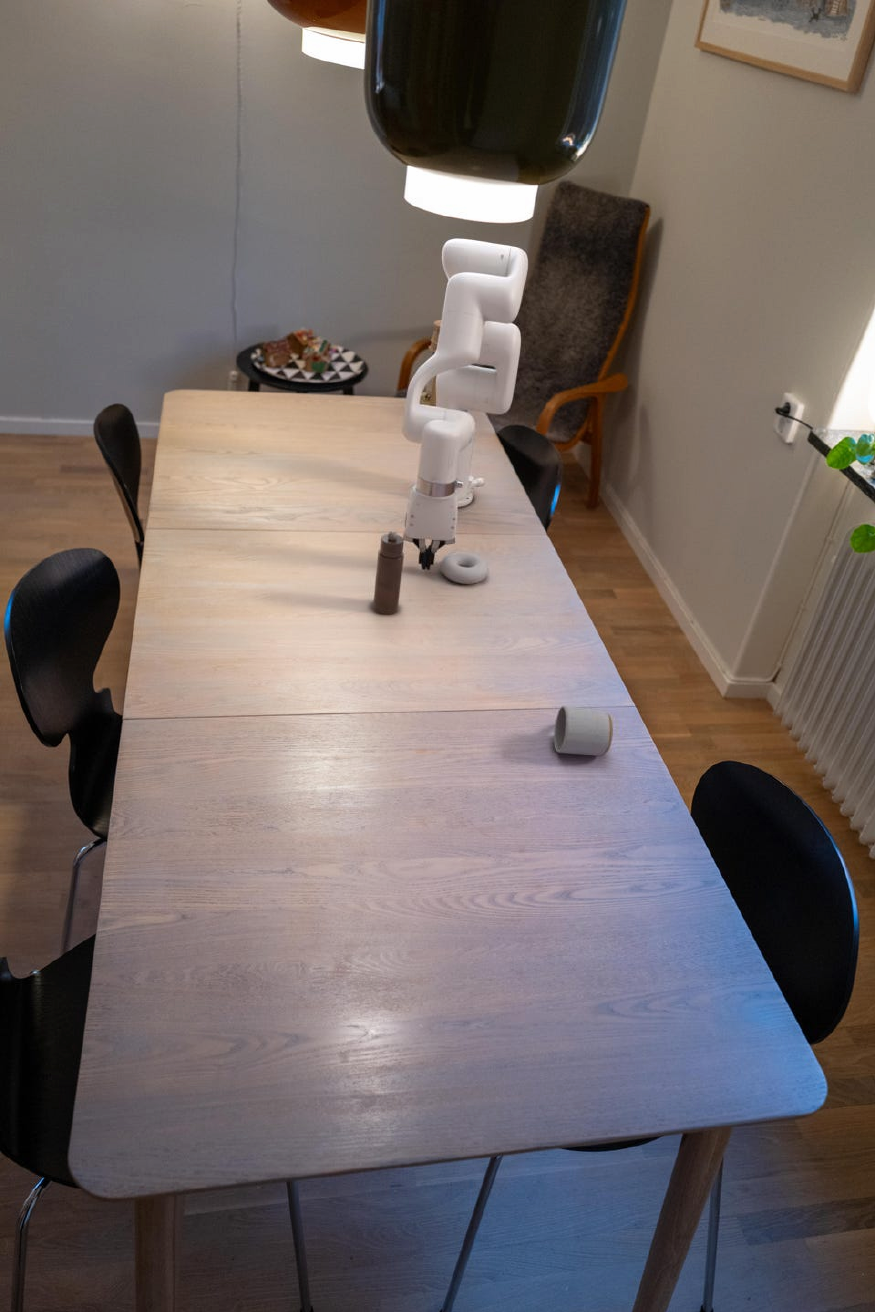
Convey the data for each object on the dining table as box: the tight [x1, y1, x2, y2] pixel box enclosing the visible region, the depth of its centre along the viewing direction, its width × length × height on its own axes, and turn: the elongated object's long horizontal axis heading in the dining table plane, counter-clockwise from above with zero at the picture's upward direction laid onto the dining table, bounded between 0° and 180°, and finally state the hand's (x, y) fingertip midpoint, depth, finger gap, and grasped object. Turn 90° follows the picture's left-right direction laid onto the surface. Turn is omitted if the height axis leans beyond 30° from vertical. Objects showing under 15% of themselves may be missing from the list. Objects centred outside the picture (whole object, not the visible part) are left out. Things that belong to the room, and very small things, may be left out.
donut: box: [440, 551, 489, 585], centre depth 206 cm, size 10×4×10 cm
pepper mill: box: [372, 530, 405, 615], centre depth 188 cm, size 5×5×16 cm
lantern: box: [420, 319, 442, 407], centre depth 275 cm, size 15×10×30 cm
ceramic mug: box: [553, 705, 614, 757], centre depth 162 cm, size 11×8×8 cm
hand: (425, 566), depth 205 cm, fingers closed
